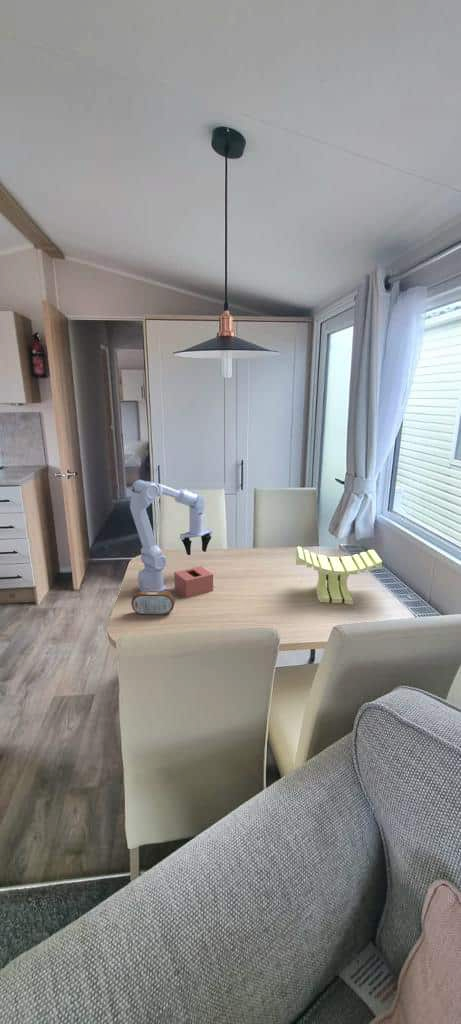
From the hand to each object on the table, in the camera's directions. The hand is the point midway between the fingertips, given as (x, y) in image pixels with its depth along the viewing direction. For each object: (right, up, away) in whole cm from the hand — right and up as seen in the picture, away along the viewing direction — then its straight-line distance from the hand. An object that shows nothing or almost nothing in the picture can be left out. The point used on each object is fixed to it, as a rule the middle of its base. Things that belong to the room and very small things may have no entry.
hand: (196, 552), depth 185 cm
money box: (0, -14, -11) cm, 18 cm away
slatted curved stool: (+56, -15, -13) cm, 59 cm away
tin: (-13, -19, -31) cm, 39 cm away
